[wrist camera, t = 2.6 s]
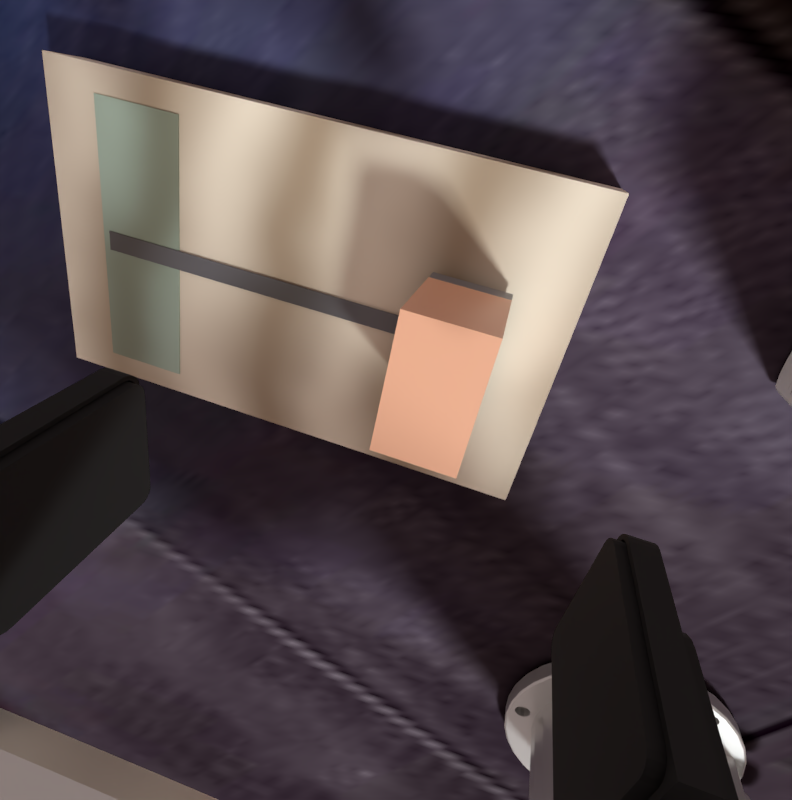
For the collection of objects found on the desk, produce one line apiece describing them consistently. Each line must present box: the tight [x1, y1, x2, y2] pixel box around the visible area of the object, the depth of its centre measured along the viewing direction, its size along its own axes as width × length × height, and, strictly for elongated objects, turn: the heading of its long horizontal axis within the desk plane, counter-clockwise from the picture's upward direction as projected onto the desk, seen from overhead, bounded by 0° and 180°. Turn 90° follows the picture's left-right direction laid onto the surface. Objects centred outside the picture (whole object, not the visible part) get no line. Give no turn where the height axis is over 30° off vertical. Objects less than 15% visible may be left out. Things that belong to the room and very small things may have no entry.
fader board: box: [42, 50, 629, 500], centre depth 22 cm, size 22×13×2 cm, turn 78°
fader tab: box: [369, 272, 513, 479], centre depth 18 cm, size 3×5×5 cm, turn 168°
